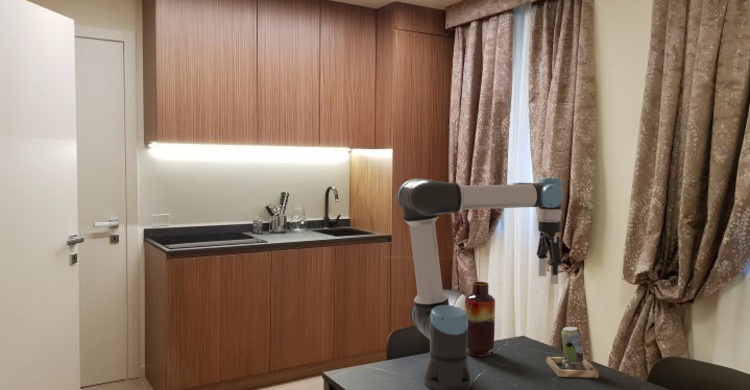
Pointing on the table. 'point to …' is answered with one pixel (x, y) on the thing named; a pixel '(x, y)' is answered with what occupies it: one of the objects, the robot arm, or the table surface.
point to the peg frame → (568, 368)
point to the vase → (480, 320)
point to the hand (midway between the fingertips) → (547, 280)
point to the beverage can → (572, 345)
